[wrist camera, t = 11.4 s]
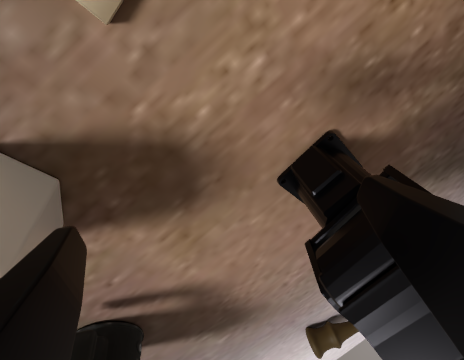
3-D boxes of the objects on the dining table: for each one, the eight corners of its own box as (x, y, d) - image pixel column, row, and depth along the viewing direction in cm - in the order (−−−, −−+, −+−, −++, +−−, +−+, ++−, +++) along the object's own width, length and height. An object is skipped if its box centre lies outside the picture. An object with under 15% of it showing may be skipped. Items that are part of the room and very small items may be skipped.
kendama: (297, 318, 45) (404, 275, 43) (306, 334, 51) (400, 296, 50) (313, 356, 40) (432, 310, 39) (321, 368, 46) (424, 328, 45)
